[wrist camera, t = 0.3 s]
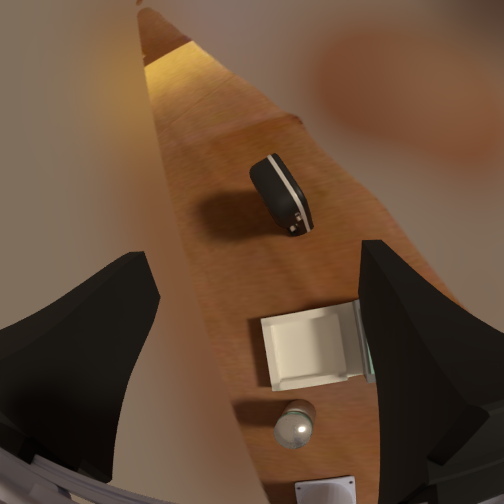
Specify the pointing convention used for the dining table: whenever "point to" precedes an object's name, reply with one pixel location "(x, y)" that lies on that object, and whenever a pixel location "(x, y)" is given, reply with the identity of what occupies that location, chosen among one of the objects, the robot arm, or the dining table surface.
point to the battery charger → (282, 195)
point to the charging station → (317, 347)
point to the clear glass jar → (295, 424)
